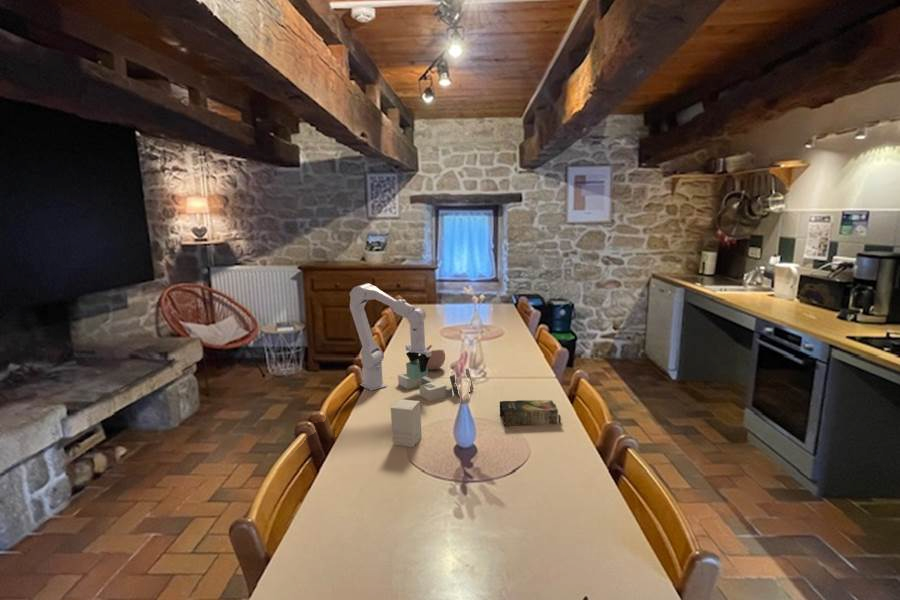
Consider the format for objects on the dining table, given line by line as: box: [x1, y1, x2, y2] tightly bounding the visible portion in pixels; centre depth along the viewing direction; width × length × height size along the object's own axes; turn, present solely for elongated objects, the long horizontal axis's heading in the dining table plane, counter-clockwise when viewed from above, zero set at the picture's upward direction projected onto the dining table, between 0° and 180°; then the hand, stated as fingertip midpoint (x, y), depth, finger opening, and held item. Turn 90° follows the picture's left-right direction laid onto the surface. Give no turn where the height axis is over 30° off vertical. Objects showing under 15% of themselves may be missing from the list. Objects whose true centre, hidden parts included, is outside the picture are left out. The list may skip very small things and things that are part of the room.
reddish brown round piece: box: [419, 344, 446, 371], centre depth 219 cm, size 12×12×11 cm
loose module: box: [405, 359, 429, 380], centre depth 191 cm, size 5×7×6 cm
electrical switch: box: [449, 368, 475, 397], centre depth 190 cm, size 9×5×9 cm, turn 141°
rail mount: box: [397, 371, 453, 402], centre depth 194 cm, size 26×10×5 cm, turn 37°
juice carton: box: [499, 399, 562, 426], centre depth 163 cm, size 20×10×6 cm, turn 91°
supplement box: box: [390, 398, 423, 448], centre depth 149 cm, size 7×7×13 cm
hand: (419, 370), depth 192 cm, fingers closed on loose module, 5 cm apart
